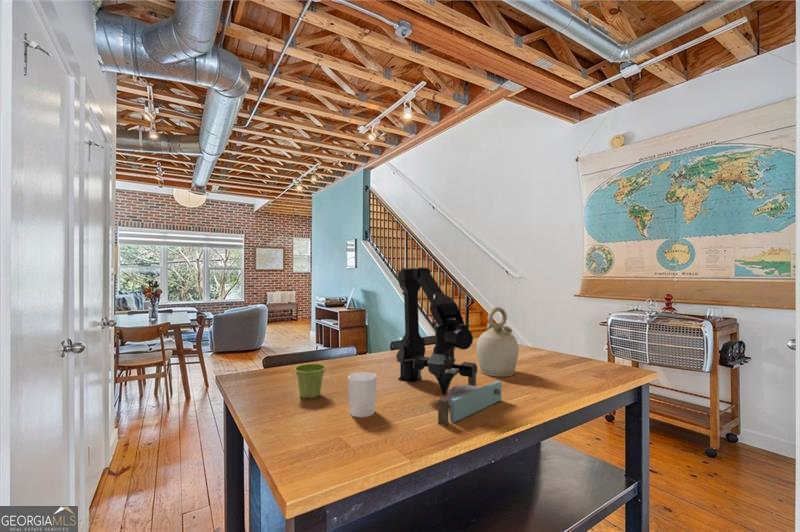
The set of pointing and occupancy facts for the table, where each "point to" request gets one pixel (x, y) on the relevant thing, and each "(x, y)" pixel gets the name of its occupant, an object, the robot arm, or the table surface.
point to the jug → (497, 348)
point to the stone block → (459, 391)
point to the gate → (475, 400)
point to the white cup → (362, 393)
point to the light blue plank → (444, 404)
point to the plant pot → (310, 379)
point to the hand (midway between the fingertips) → (444, 394)
